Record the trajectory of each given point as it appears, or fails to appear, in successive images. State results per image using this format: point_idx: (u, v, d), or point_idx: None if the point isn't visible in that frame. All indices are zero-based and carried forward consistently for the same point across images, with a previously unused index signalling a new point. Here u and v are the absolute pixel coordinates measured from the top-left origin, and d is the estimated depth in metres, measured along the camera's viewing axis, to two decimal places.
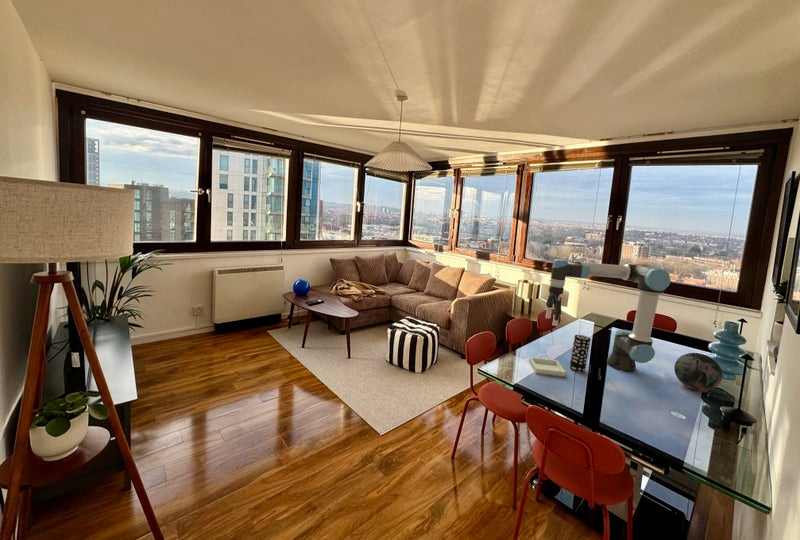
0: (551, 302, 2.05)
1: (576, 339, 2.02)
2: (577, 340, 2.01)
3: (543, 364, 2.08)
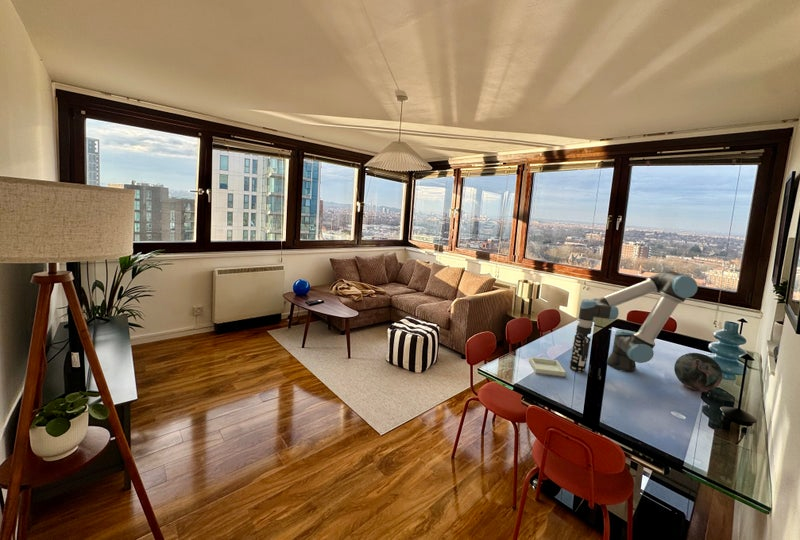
0: None
1: (576, 339, 2.02)
2: (577, 340, 2.01)
3: (543, 364, 2.08)
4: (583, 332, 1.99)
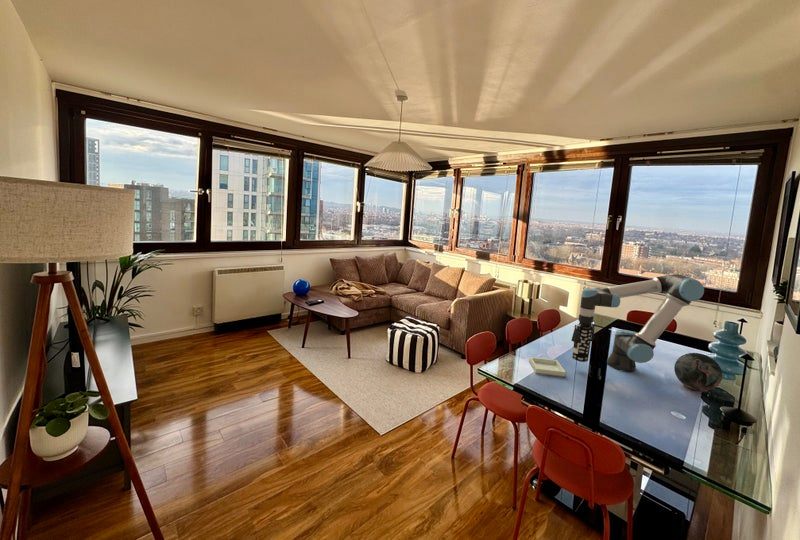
0: None
1: None
2: None
3: (543, 364, 2.08)
4: (579, 319, 2.01)
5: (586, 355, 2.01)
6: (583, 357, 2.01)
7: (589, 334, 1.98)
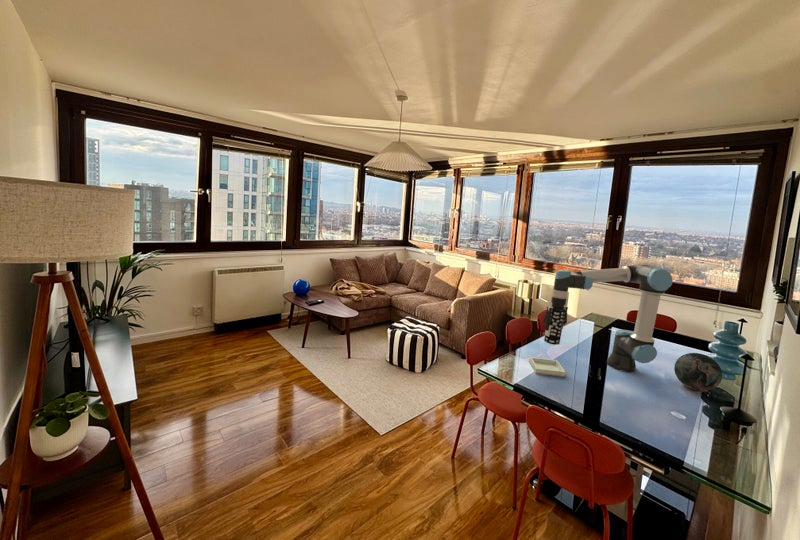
0: None
1: None
2: None
3: (543, 364, 2.08)
4: (552, 301, 1.97)
5: (557, 338, 1.96)
6: (554, 340, 1.97)
7: (561, 316, 1.94)
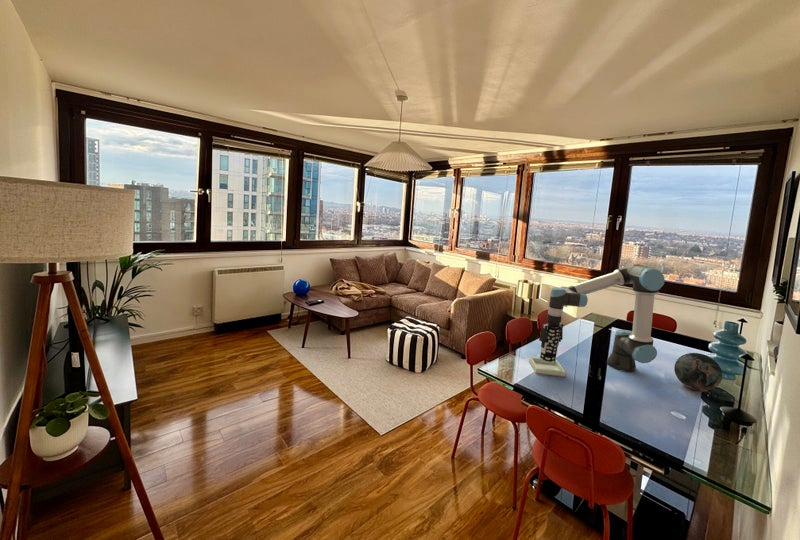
0: None
1: None
2: None
3: (543, 364, 2.08)
4: (547, 319, 1.98)
5: (553, 355, 1.98)
6: (550, 357, 1.98)
7: (557, 334, 1.96)
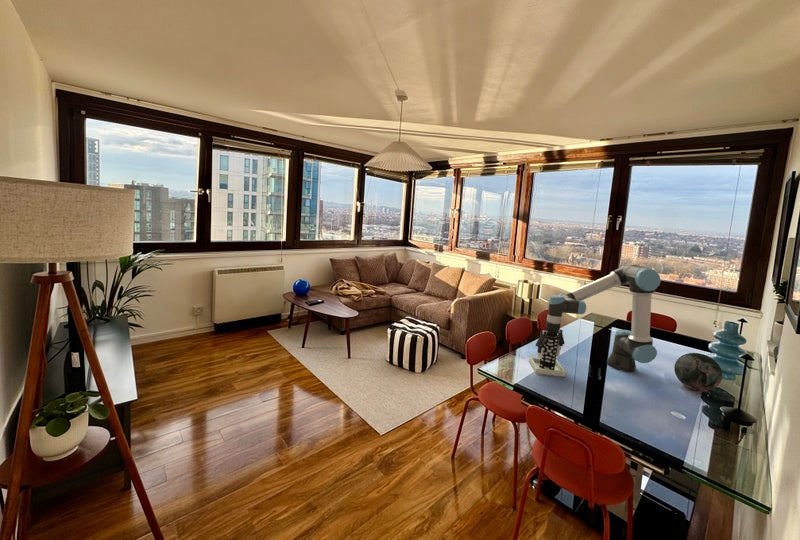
0: None
1: None
2: None
3: None
4: (546, 326, 1.99)
5: (552, 364, 1.99)
6: (549, 366, 1.99)
7: (555, 343, 1.97)
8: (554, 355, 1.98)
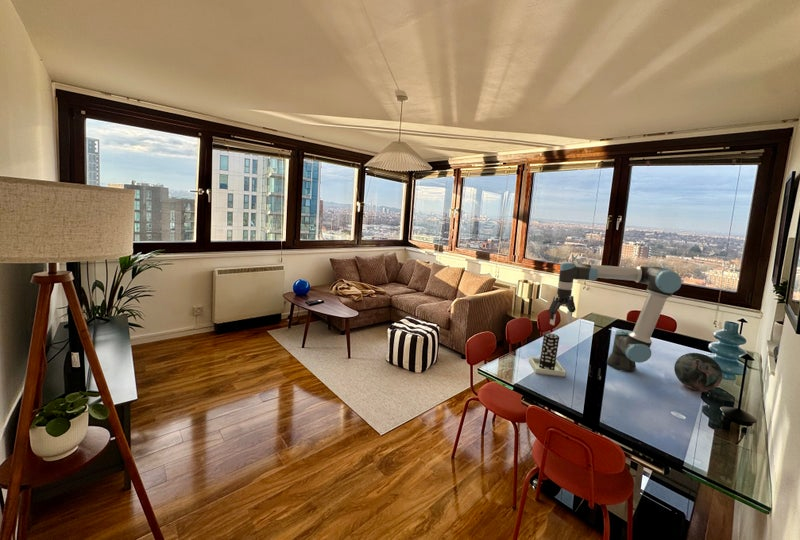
0: (567, 305, 2.06)
1: None
2: None
3: None
4: (558, 293, 2.03)
5: (552, 364, 1.99)
6: (549, 366, 1.99)
7: (555, 343, 1.97)
8: (554, 355, 1.98)
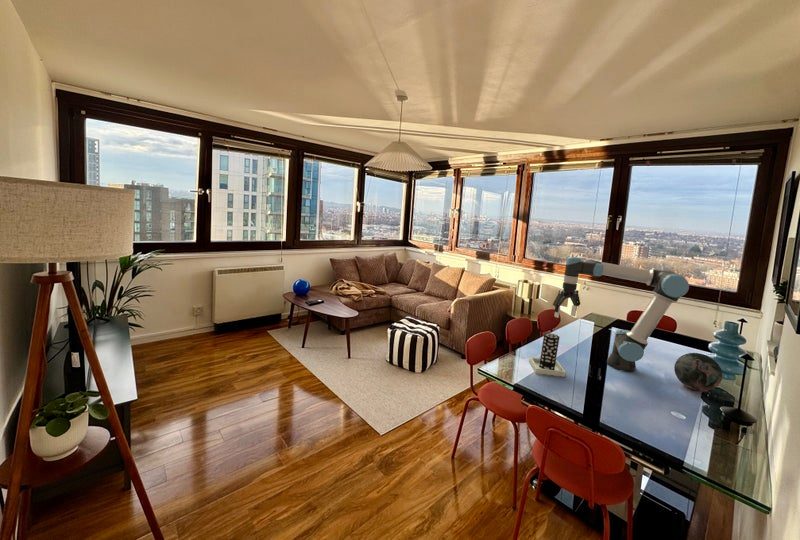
0: (572, 299, 2.12)
1: None
2: None
3: None
4: (563, 286, 2.09)
5: (552, 364, 1.99)
6: (549, 366, 1.99)
7: (555, 343, 1.97)
8: (554, 355, 1.98)
